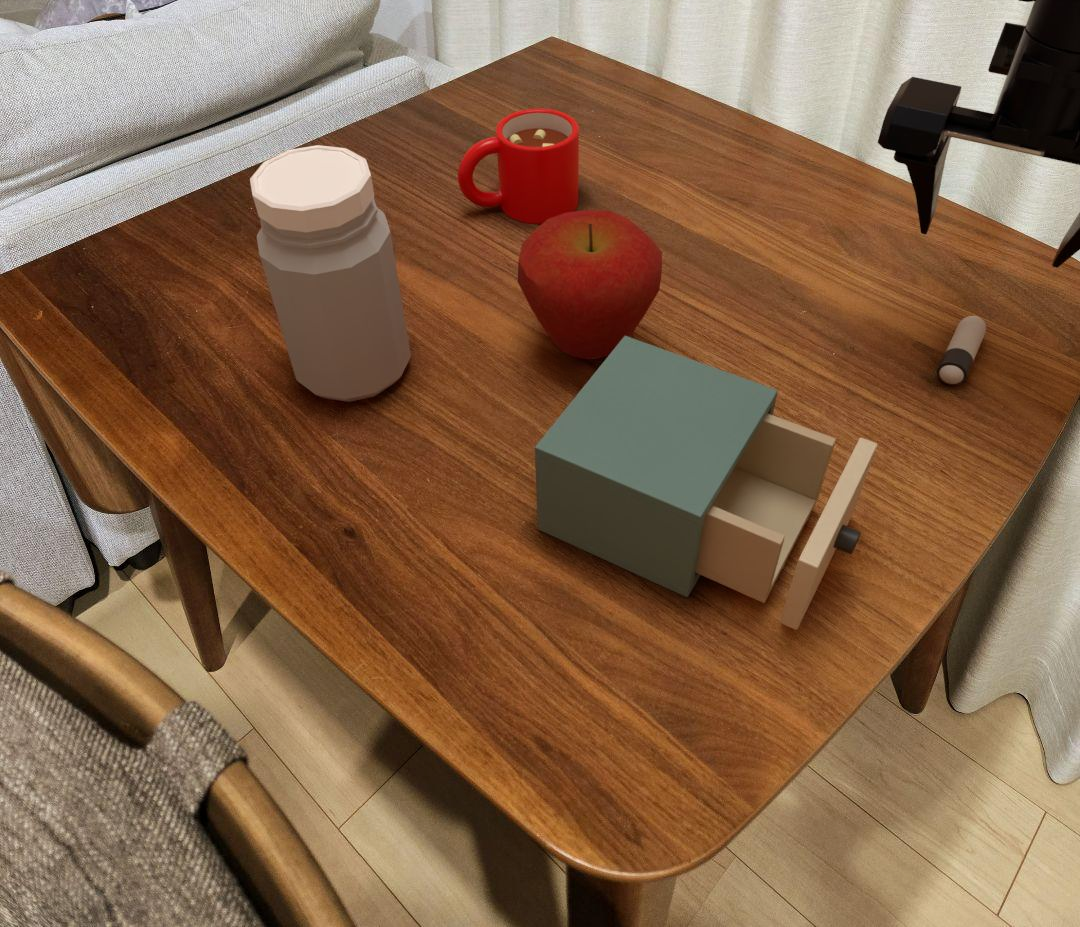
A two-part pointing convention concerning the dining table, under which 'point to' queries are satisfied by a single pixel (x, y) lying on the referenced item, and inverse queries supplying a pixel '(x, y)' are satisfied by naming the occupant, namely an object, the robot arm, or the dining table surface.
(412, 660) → the dining table surface
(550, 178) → the mug
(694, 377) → the cabinet
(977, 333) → the marker
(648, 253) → the apple
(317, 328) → the jar
